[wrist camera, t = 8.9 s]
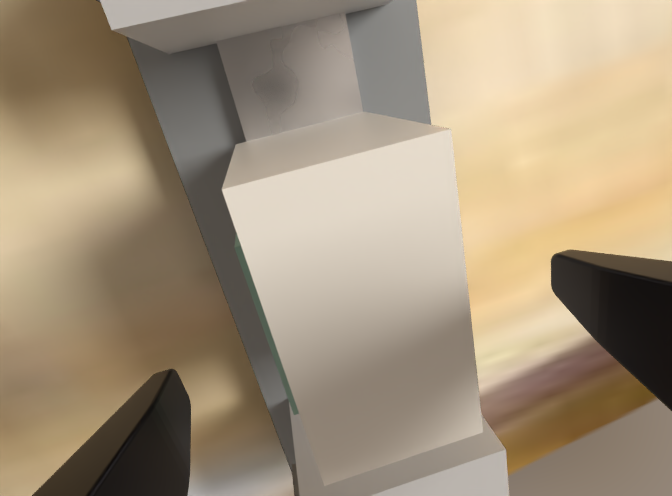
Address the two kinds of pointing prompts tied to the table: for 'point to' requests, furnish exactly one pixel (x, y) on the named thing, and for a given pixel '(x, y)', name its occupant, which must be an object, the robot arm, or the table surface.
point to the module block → (360, 284)
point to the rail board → (276, 117)
